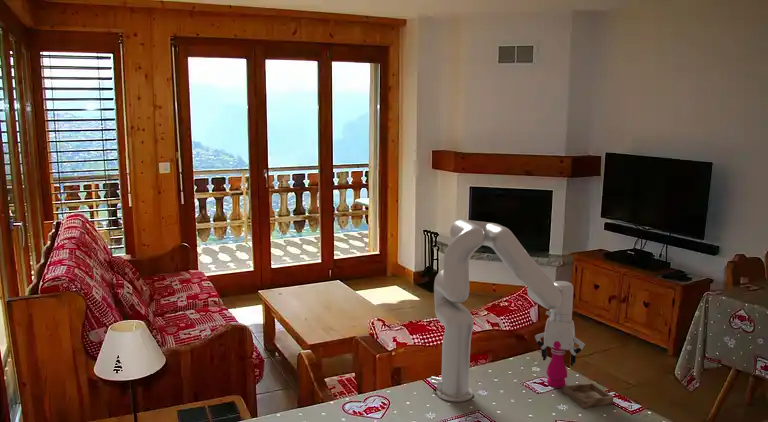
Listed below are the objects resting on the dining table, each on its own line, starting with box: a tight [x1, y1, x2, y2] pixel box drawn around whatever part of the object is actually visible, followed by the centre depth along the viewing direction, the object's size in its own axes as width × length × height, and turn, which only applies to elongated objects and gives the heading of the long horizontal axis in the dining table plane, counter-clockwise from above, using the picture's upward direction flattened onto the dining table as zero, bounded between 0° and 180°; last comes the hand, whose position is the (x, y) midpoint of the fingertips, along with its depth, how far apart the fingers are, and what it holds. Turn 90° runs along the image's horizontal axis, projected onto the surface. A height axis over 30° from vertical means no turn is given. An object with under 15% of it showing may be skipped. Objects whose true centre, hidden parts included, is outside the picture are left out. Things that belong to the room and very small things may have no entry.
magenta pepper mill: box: [546, 341, 568, 389], centre depth 215 cm, size 7×7×20 cm
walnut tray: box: [563, 382, 614, 409], centre depth 205 cm, size 12×12×3 cm
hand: (558, 361), depth 215 cm, fingers open, 9 cm apart
